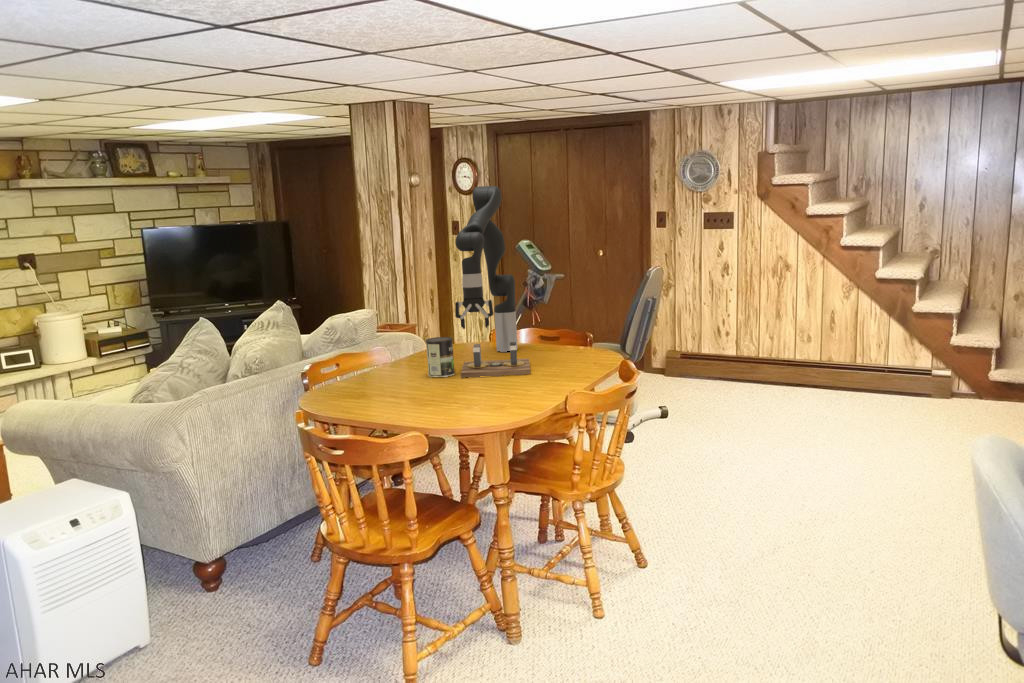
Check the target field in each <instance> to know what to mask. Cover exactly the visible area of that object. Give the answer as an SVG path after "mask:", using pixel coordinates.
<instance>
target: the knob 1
mask: <svg viewBox="0 0 1024 683" xmlns="http://www.w3.org/2000/svg"><path fill="white" fill-rule="evenodd" d="M472 354H473V361H474V363H471V364H468V368H472V369H478V368H485V367H488V363H484V362H481V361H482V350H481V343H474V344H473V347H472Z"/></svg>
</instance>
